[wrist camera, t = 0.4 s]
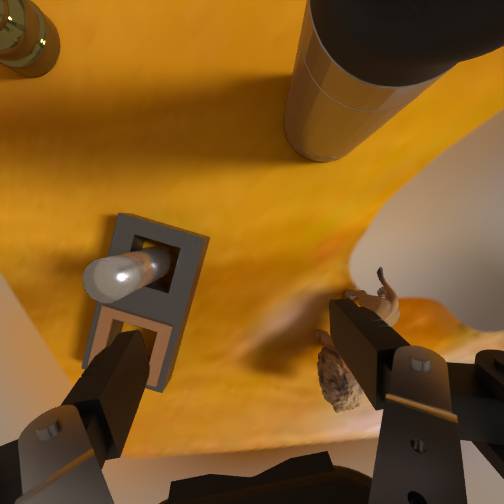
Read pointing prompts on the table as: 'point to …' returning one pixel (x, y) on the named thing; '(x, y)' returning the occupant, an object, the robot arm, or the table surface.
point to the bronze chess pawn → (27, 38)
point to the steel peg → (126, 273)
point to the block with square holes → (151, 296)
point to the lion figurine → (331, 363)
